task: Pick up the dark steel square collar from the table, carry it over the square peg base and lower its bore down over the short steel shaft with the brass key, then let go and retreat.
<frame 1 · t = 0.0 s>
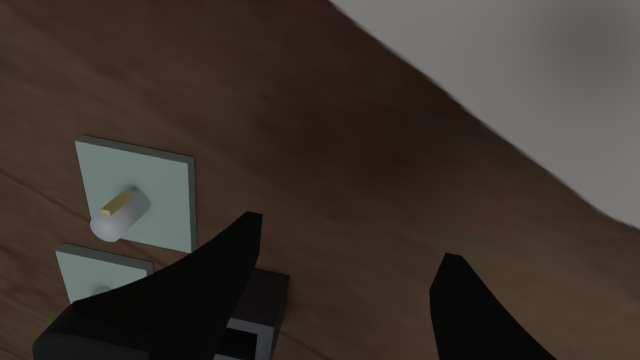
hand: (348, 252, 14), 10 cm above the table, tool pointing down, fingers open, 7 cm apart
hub: (253, 292, 30), on the table
pale green pegged plate: (114, 285, 32), on the table
square peg base: (144, 194, 26), on the table
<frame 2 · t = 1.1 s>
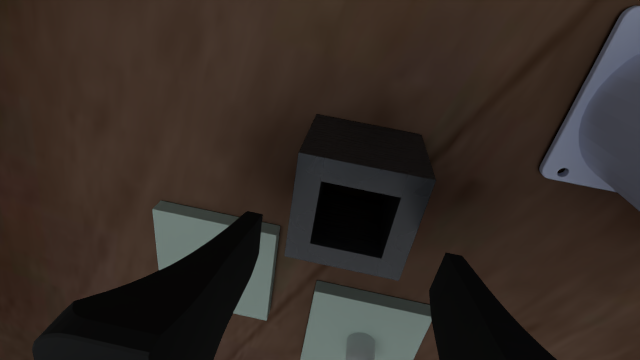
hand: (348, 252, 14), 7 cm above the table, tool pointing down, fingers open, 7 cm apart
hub: (357, 170, 20), on the table
pale green pegged plate: (361, 330, 26), on the table
square peg base: (219, 259, 24), on the table
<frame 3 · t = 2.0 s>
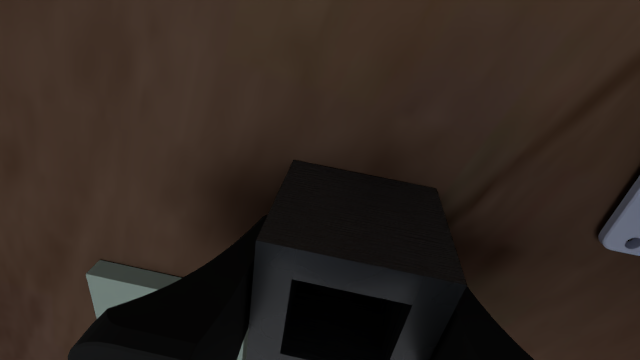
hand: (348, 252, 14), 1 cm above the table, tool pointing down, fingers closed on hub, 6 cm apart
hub: (350, 231, 15), on the table, touching gripper
square peg base: (178, 327, 20), on the table
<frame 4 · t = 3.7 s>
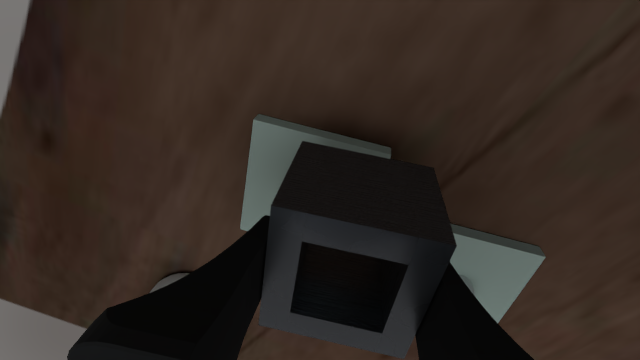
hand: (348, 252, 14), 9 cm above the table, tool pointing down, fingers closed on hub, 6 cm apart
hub: (353, 208, 16), point 6 cm above the table, touching gripper
pale green pegged plate: (452, 275, 24), on the table
square peg base: (311, 187, 22), on the table
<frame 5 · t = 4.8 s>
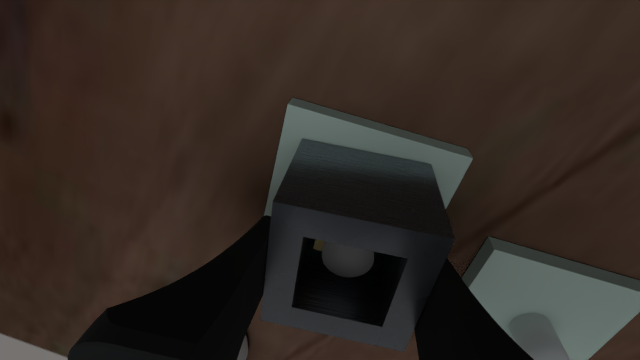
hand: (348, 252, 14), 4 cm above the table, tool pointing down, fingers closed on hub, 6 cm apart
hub: (353, 204, 16), point 1 cm above the table, touching gripper, square peg base
pale green pegged plate: (522, 310, 19), on the table
square peg base: (353, 196, 17), on the table
when the fingers open (4 cm above the table, at t = 5.3 s): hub stays where it is, resting on square peg base.
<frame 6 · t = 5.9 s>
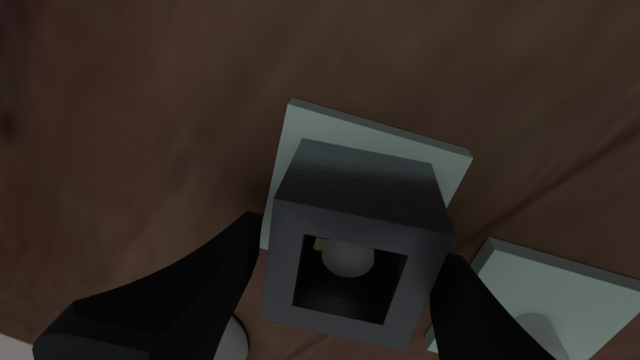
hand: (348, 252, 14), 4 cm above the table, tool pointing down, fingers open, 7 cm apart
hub: (353, 204, 16), point 1 cm above the table, touching square peg base
milk bottle: (198, 329, 24), on the table
pale green pegged plate: (522, 311, 19), on the table
square peg base: (353, 197, 17), on the table
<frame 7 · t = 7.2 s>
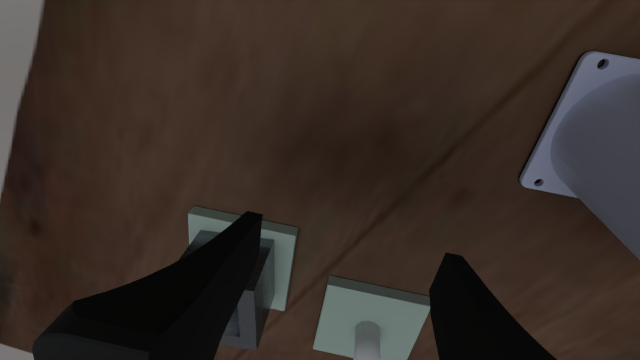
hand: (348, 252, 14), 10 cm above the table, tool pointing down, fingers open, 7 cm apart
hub: (239, 263, 27), point 1 cm above the table, touching square peg base
pale green pegged plate: (367, 319, 29), on the table
square peg base: (243, 256, 28), on the table
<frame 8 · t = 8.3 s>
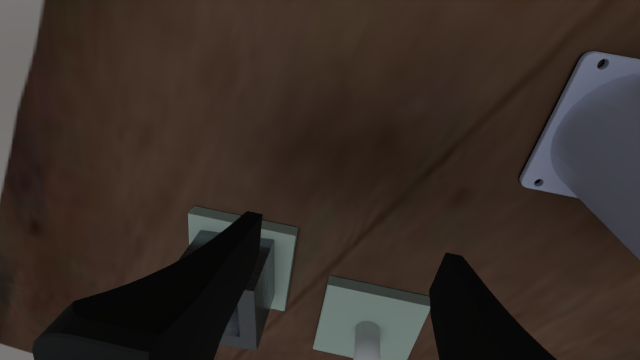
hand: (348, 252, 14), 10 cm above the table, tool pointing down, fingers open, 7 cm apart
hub: (239, 263, 27), point 1 cm above the table, touching square peg base
pale green pegged plate: (367, 319, 29), on the table
square peg base: (243, 256, 28), on the table
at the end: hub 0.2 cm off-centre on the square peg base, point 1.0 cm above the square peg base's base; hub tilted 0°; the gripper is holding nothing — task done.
